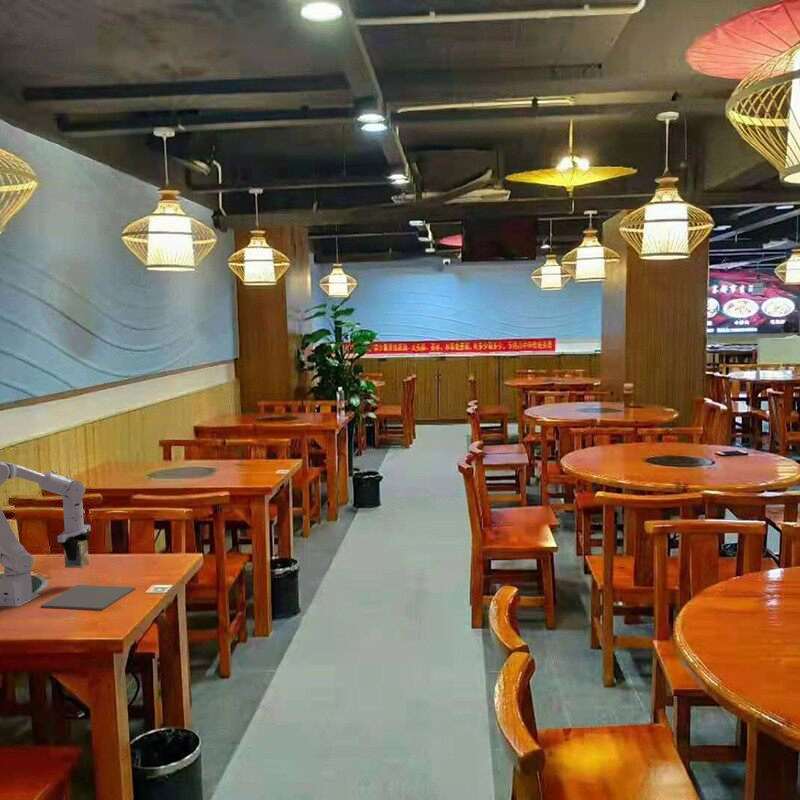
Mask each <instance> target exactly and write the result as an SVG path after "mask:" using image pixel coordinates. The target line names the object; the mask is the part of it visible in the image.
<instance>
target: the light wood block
mask: <svg viewBox="0 0 800 800" xmlns="http://www.w3.org/2000/svg"><path fill="white" fill-rule="evenodd" d="M88 550H89V549H88V541H84V540H79V541H78V544H77V549H76V560H75V561H69V560H68V557H67V554H66V551H65V549H64V548H63V555H64V568H65V569H66V568H67V569H68V568H70V569H84V568H85V567H87V566H89V551H88Z"/></svg>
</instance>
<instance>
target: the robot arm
mask: <svg viewBox="0 0 800 800" xmlns="http://www.w3.org/2000/svg"><path fill="white" fill-rule="evenodd" d="M14 478H19V479H22V480H26V481H30V482H32V483H33V482H34V483H37V484H38V486H39V489H41V490H45V491H47V492H50V493H53V494H57V495H60V496H61V497H62V506H63V507H62V508H63V509H62V510H63V522H64V525H63V527H64V530H63V531H62V532H61V534H59V535H57V542H58V543H60V545H61V547H63V550H64V549H65V551H66V554H67V557H68V560H69V561H75V560H76V549H77V544H78V541H79V540H84V541H87V542H88V541H89V539H90V537H91V536H90V535H91V534H90V533H89V532H91V531H92V529H91V528H92V527H91V524H85V522H84V507H83V506H84V505H83V497H84V495H85V493H86V487H85V486H84V484H83V482H82V481H79V480H76V479H71V476H68V475H66V476H63V475H61V474H58V472H57V471H55V470H51V471H47V470H46V471H45V472H43V473H41V472H38V471H35V470H33V469H30V468H27V467H25V466H22V465H20V464H17V463H10V462H5V461H0V487H1V486H2V485H3V484H4V483H5V482H6V481H7V480H8V479H9V480H12V479H14ZM34 560H35V559H34V556H33V555H32V554H31V553H30V552H28V551H27V550H26V549H25V547H24V546H23V545H22V543H20V541H19V540H18V538H17V536H16V534H15V533H14V531H13V529H12V527H11V525H10V523H9V522H8V520H7V518H6V516H5V514H4V511H3V509H2V508H1V507H0V565H1V566H2V567H3V568H4V569H3V576H2V578H0V607H11V608H12V607H13V608H15V607H18V608H19V607H21V606H23V605H25V604H27V603H28V602H30V601H33V600H35V599H36V598H38V597H40V595H39V594H37V593H35V594H34V593H33V584H32V582H33V581H32V571H31V570H32V567H33V565H34Z"/></svg>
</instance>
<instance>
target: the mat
mask: <svg viewBox="0 0 800 800" xmlns="http://www.w3.org/2000/svg"><path fill="white" fill-rule="evenodd" d="M135 590H136V587H135V586H132V587H131V586H115V585H114V586H113V585H111V586H110V585H108V586H107V585H89V584H87V585H86V584H85V585H84V584H83V585H82V584H76V586H73V587H71V588H70V589H68V590H66V591H65V592H63V593H61V594H59V595H57V596H55V597H53V598H51V599H50V600H48V601H45V603H43V604H40V607H41V608H49V609H67V610H68V609H69V610H71V609H74V610H89V611H90V610H91V611H94V610H95V611H104V610H105V609H106V608H108V607H110V606H112V605H113V604H114V603H116V602H118V601H119V600H121V599H122V598H124V597H126V596H127V595H129V594H130V593H133V591H135Z"/></svg>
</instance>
